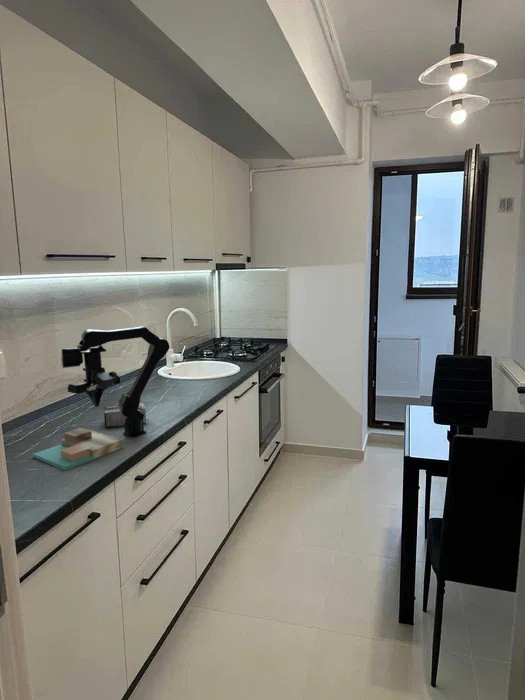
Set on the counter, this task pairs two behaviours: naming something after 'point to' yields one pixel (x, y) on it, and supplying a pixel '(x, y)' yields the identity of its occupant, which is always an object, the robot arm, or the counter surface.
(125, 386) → the counter surface
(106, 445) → the deck
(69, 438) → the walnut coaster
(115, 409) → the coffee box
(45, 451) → the mat
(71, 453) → the blush pink tile
